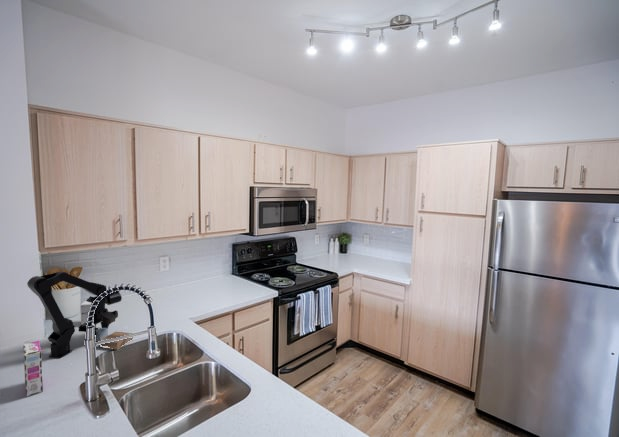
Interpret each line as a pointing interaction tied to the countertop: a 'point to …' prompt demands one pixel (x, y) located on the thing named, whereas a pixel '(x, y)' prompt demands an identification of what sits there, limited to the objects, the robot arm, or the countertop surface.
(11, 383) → the countertop surface
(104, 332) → the slate cube
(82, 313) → the supplement box
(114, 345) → the walnut block
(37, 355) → the candy bar box
